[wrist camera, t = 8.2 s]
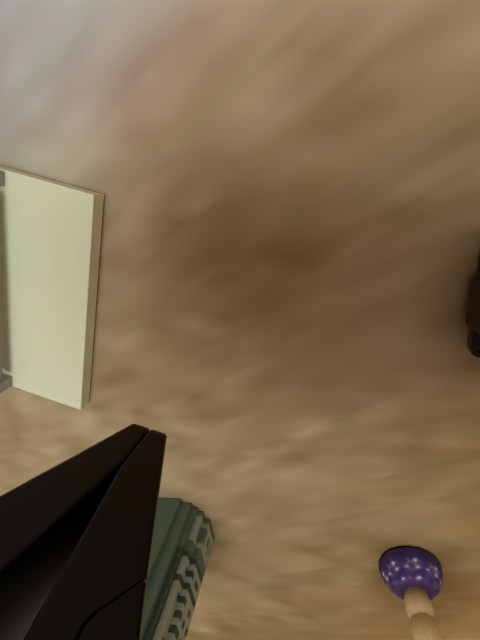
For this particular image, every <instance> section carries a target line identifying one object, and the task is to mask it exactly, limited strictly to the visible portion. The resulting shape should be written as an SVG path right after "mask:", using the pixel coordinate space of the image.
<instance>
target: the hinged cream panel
mask: <svg viewBox="0 0 480 640" xmlns="http://www.w3.org/2000/svg"><path fill="white" fill-rule="evenodd" d="M2 378H3V368H2V349H1V329H0V380H1V379H2Z"/></svg>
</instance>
